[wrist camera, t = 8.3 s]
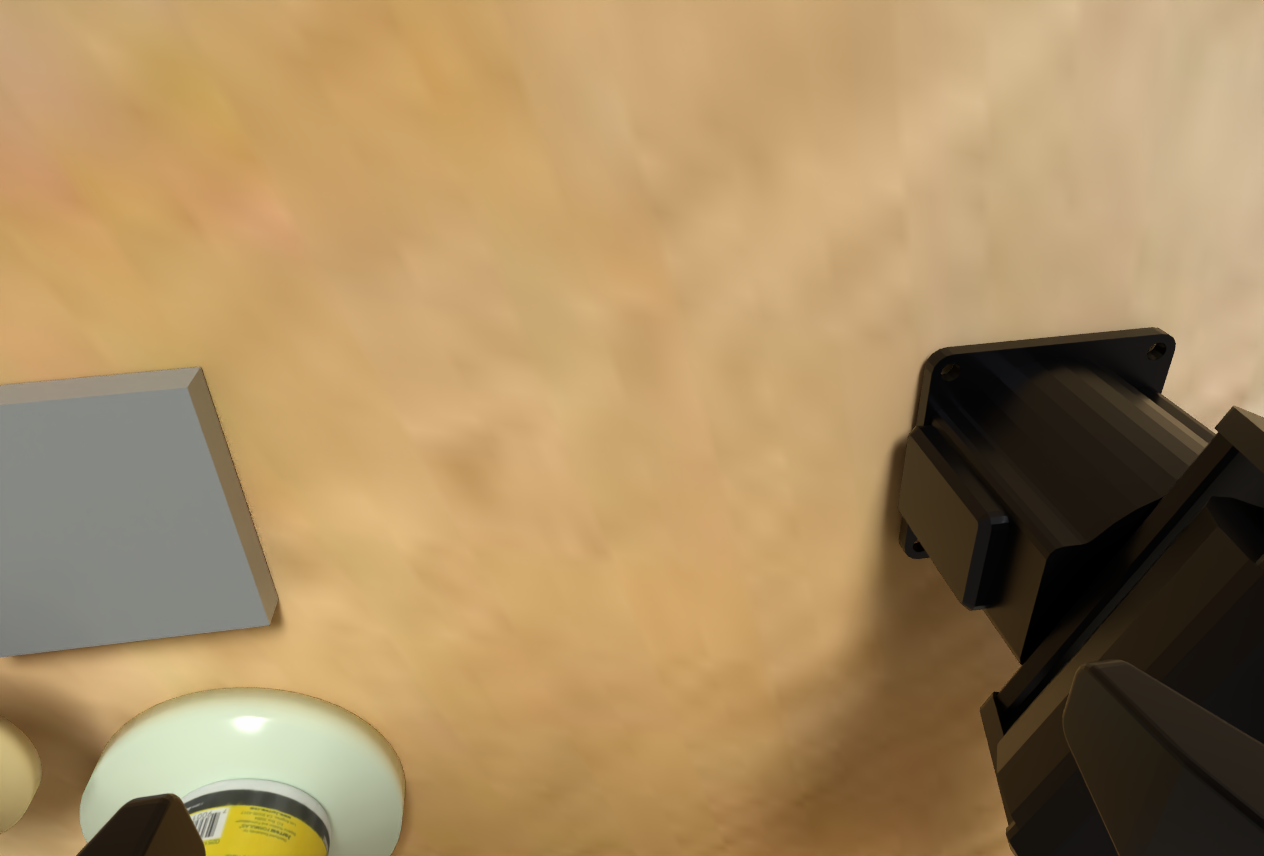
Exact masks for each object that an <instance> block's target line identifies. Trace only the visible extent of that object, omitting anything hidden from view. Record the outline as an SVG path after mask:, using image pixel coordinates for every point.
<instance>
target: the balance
mask: <svg viewBox="0 0 1264 856" xmlns="http://www.w3.org/2000/svg"><path fill="white" fill-rule="evenodd" d="M41 777H42V764H41V761H40V757H39V755H38V753H37V750H36V748H35V747H34V745H33V744H32V742H31V741H30V740H29V738H28V737H27V736H26V735H25V734H24V733H23V732H22V731H21V730H20V729H19V728H18V727H16V726H15V725H14V724H13V723H12V722H10V721H9V720H7V719H6V718H4V717H3V716H1V715H0V834H1V833H3V832H5V831H6V830H8V829H9V828H11V827H12V826H13V825H15V824H16V823H17V822H18V821H19V820H20V819H21V818H22V816H23V815H24V813H25V812H26V810H27V808H28V807H29V805H30V803H31V801H32V799H33V797H34V795H35V793H36V791H37V789H38V787H39V785H40V782H41Z"/></svg>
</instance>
